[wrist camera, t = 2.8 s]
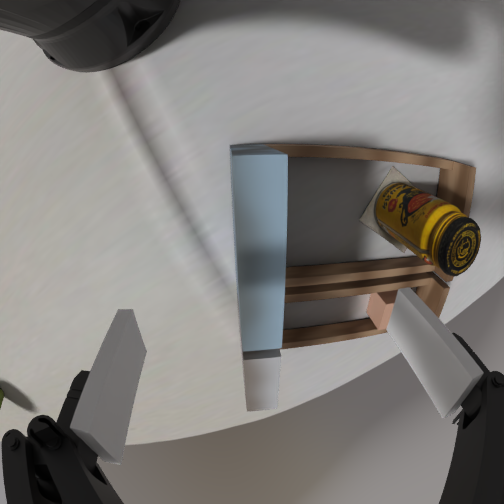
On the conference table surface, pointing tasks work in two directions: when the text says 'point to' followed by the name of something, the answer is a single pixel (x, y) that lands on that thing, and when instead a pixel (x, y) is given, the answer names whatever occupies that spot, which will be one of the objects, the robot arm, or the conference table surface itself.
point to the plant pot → (1, 397)
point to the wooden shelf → (275, 231)
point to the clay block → (381, 308)
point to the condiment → (423, 225)
